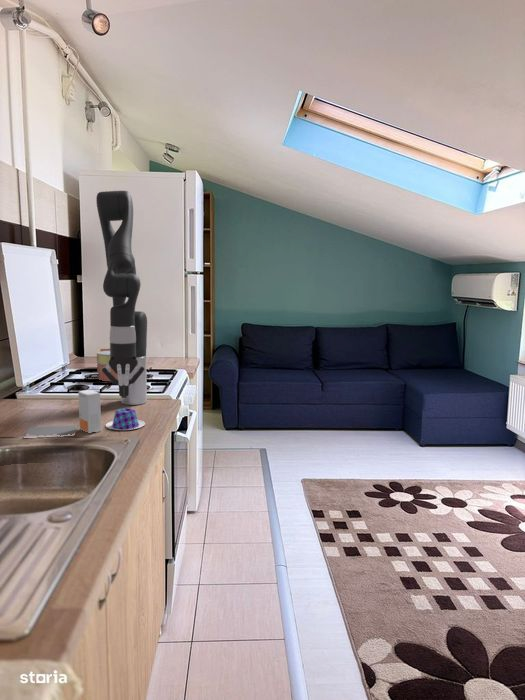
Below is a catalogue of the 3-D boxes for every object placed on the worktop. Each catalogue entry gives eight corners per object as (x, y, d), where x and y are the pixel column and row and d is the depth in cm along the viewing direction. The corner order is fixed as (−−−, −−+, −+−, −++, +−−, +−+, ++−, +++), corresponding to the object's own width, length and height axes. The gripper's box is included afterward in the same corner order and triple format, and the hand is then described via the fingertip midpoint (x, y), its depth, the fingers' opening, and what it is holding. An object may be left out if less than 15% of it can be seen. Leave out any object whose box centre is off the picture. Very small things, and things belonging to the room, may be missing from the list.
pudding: (128, 419, 180) (128, 403, 179) (153, 426, 173) (153, 409, 172) (97, 427, 170) (97, 410, 169) (122, 434, 163) (122, 417, 162)
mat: (29, 428, 166) (29, 427, 166) (77, 426, 169) (77, 425, 169) (23, 438, 156) (23, 437, 156) (74, 436, 160) (74, 435, 160)
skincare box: (79, 429, 166) (77, 391, 164) (92, 427, 169) (91, 389, 167) (88, 434, 162) (87, 395, 160) (101, 431, 165) (100, 392, 163)
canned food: (128, 377, 242) (128, 350, 241) (119, 383, 231) (119, 355, 230) (104, 376, 244) (103, 350, 242) (94, 381, 232) (93, 354, 231)
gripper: (145, 338, 169) (145, 393, 171) (100, 339, 166) (101, 395, 168) (146, 342, 162) (146, 399, 164) (99, 342, 158) (100, 401, 161)
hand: (123, 397), depth 166 cm, fingers closed
